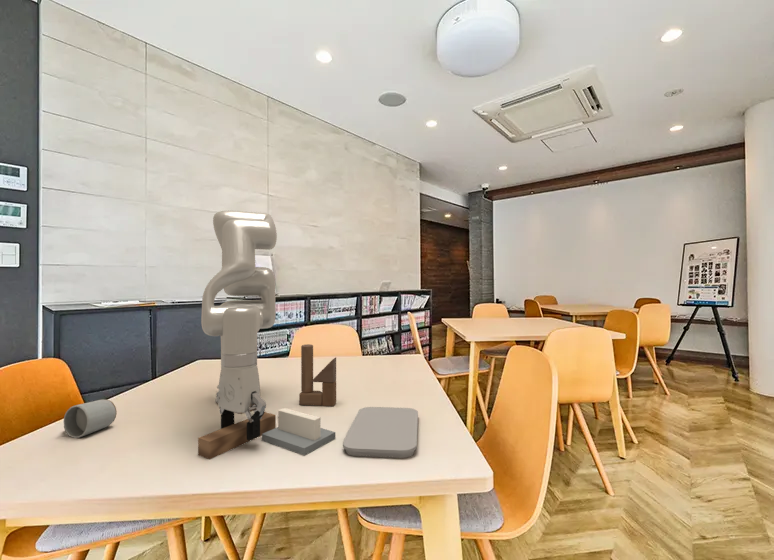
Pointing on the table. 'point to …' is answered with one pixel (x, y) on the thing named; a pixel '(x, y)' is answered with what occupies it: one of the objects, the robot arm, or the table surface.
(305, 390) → the brown wooden block stack
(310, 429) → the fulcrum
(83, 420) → the grey hollow cylinder
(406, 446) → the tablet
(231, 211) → the robot arm
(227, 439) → the walnut bar
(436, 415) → the table surface
